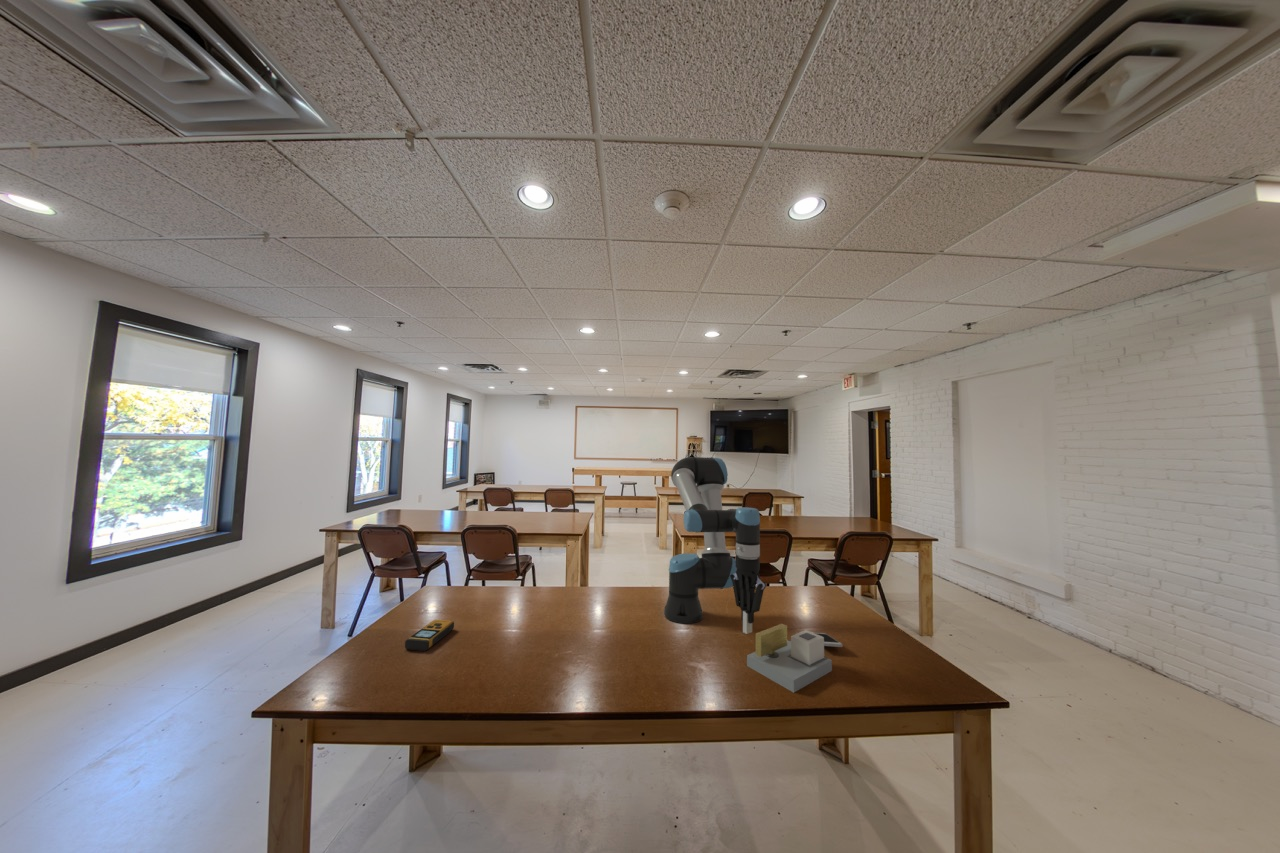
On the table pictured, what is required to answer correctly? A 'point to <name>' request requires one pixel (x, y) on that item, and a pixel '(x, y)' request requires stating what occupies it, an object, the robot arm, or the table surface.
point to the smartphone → (829, 640)
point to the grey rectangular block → (807, 647)
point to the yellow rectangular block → (771, 640)
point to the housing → (788, 668)
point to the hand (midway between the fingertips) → (747, 632)
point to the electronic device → (429, 635)
